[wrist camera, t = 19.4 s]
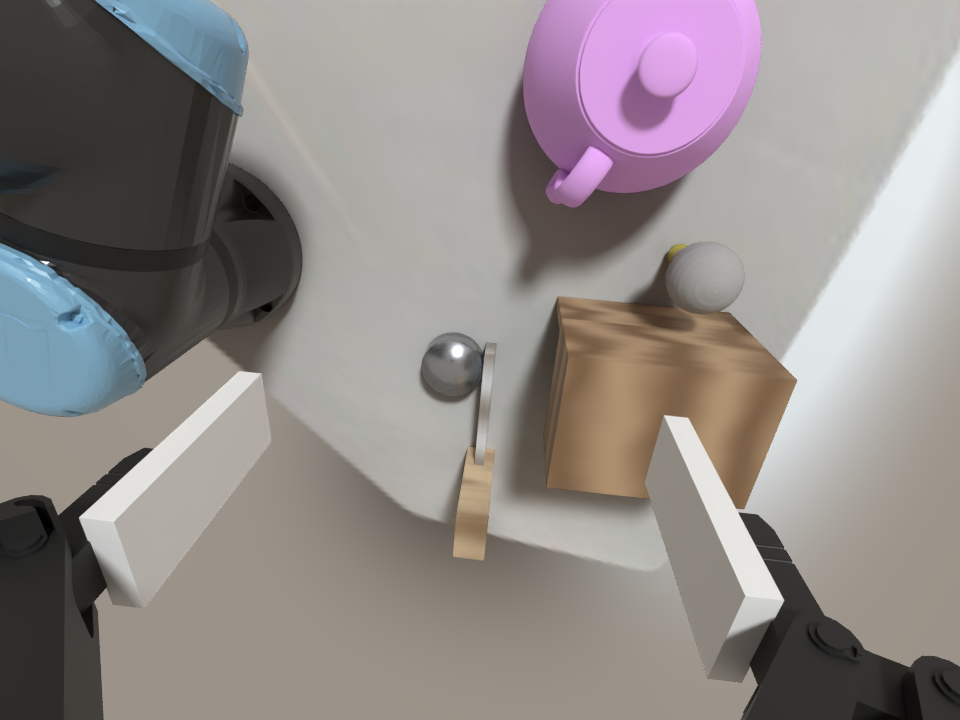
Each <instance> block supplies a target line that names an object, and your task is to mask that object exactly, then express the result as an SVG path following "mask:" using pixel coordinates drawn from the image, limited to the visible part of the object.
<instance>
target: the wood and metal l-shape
mask: <svg viewBox="0 0 960 720" xmlns="http://www.w3.org/2000/svg"><path fill="white" fill-rule="evenodd" d="M495 353H496V343H486V349H485V355H484V365H483V376H482V387H481V398H480V409H479V420H478V431H477V442H476V447H468V450H467V455H466V461H465V467H464V473H463V479H462V485H461V491H460V496H459V502H458V508H457V514H456V522H455V536H454V549H453V557H459V558H467V559H476V560H484V553H485V545H486V536H487V527H488V518H489V507H490V496H491V485H492V474H493V463H494V452H495V450H494V449H486V442H487V432H488V422H489V412H490V402H491V392H492V383H493V373H494V363H495Z"/></svg>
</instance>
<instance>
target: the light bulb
mask: <svg viewBox="0 0 960 720" xmlns="http://www.w3.org/2000/svg"><path fill="white" fill-rule="evenodd" d="M667 257H668V261H669V263H670V264H669V266H668V269H667V272H666V288H667V291H668V294H669V296H670V298H671V299H672V300H673V301H674V303H675V304H676V305H677V306H678V307H680V308H681V309H683V310H684V311H687V312H689V313H694V314H700V315H706V314H712V313H716V312H719V311H721V310H723V309H725V308H727V307H728V306H729V305H731V304H732V303H733V302H734V301H735V300H736V298H737V297H738V296H739V294H740V292H741V290H742V287H743V284H744V268H743V264H742V262H741V260H740V258H739V257H738V255H737V254H736V253H735V252H733V251H732V250H731V249H730V248H728V247H727V246H725V245H723V244H720V243H715V242H698V243H694V244H692V245H689V246H687V245H684V244H678V245H675V246H673V247H672V248H671V249H670V250H669V252H668V256H667Z"/></svg>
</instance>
